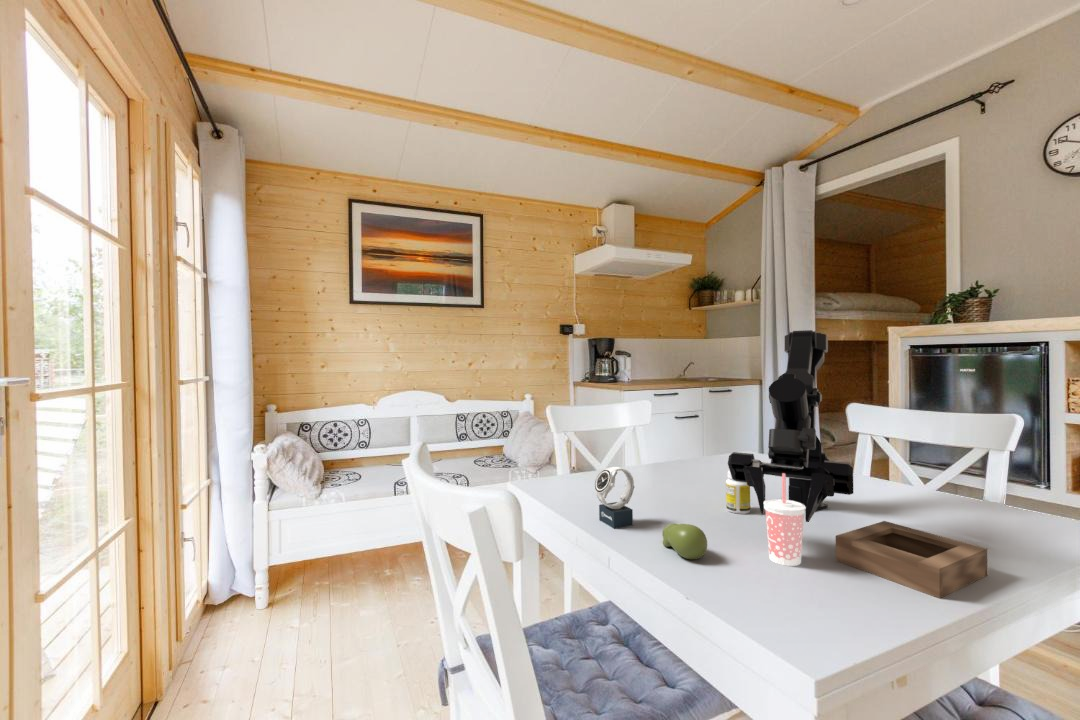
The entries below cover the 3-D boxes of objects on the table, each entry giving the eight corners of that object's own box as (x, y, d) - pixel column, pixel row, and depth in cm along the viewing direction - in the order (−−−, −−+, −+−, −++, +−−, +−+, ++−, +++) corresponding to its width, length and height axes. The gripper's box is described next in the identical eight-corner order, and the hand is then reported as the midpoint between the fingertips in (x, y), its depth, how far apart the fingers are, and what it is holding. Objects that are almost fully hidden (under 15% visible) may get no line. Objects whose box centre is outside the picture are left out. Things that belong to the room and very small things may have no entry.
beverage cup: (765, 549, 83) (764, 467, 82) (806, 556, 79) (805, 471, 79) (762, 563, 77) (761, 475, 77) (806, 571, 74) (804, 480, 74)
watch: (590, 521, 98) (590, 467, 98) (624, 515, 101) (623, 463, 101) (605, 530, 93) (604, 473, 93) (640, 524, 96) (639, 468, 96)
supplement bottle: (750, 508, 104) (750, 470, 104) (750, 515, 100) (749, 475, 100) (727, 506, 106) (726, 468, 106) (725, 512, 102) (724, 473, 102)
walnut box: (884, 543, 84) (884, 520, 84) (987, 575, 72) (987, 548, 72) (835, 560, 78) (835, 535, 78) (939, 598, 65) (939, 568, 65)
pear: (681, 529, 77) (652, 520, 87) (685, 564, 77) (655, 551, 86) (712, 526, 79) (680, 517, 88) (716, 560, 78) (684, 547, 87)
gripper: (729, 407, 87) (714, 482, 78) (852, 412, 77) (852, 500, 68) (739, 443, 94) (726, 516, 85) (853, 453, 84) (853, 537, 75)
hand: (784, 517), depth 78 cm, fingers closed on beverage cup, 6 cm apart
